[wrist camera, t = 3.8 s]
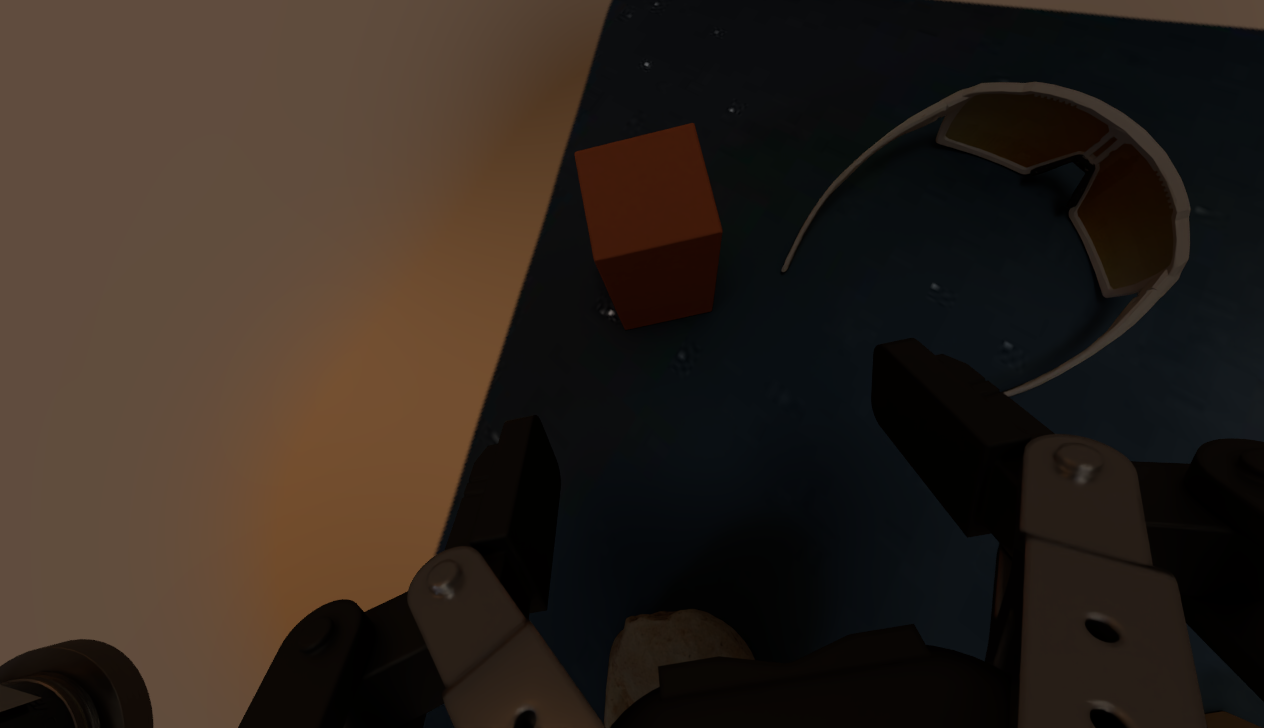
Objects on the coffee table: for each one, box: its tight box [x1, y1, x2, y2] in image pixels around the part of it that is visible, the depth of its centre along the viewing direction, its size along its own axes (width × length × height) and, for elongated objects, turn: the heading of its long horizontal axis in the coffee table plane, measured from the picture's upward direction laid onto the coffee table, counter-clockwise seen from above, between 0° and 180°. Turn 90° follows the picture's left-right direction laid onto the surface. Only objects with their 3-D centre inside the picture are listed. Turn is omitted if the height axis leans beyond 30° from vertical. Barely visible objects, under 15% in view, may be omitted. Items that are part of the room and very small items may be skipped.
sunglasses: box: [782, 82, 1191, 397], centre depth 24 cm, size 14×15×5 cm
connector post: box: [575, 123, 722, 330], centre depth 23 cm, size 5×5×9 cm
